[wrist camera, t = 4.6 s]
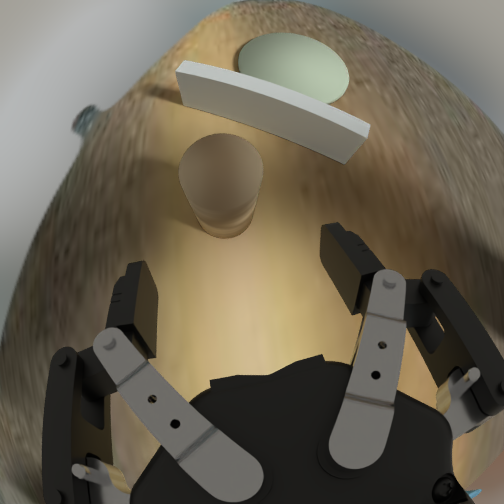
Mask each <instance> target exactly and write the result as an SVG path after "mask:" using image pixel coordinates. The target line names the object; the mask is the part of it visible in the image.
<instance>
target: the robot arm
mask: <svg viewBox="0 0 504 504" xmlns="http://www.w3.org/2000/svg"><path fill="white" fill-rule="evenodd" d="M320 259H321V262H322V264H323V266H324V268H325V270H326V271H327V273H328V275H329V276H330V278H331V280H332V281H333V283H334V285H335V287H336V288H337V290H338V292H339V293H340V295H341V297H342V299H343V300H344V302H345V304H346V306H347V307H348V309H349V311H350V313H351V315H355V314H358V313H361V314H362V316H363V318H362V321H361V325H360V329H359V333H358V337H357V341H356V344H355V348H354V351H353V355H352V358H351V361H350V364H345V363H342V362H335V361H325V360H324V357H323V355H322V354H321V355H317V356H314V357H310V358H307V359H303V360H299V361H296V362H294V363H292V364H290V365H288V366H286V367H284V368H282V369H280V370H278V371H276V372H274V373H272V374H270V375H235V376H230V377H224V378H219V379H213V380H210V387H211V388H209V389H207V390H205V391H203V392H201V393H200V394H198V395H197V396H196V397H194V398H193V399H192V400H191V401H190V402H189V403H188V402H187V401H186V400H185V399H184V398H183V397H182V396H181V395H180V394H179V393H178V392H177V391H176V390H175V389H174V388H173V387H172V386H171V385H170V384H169V383H168V382H167V381H166V380H165V379H164V378H163V377H162V376H161V375H160V374H159V373H158V371H157V370H156V369H155V368H154V367H153V366H152V365H151V364H150V363H149V362H148V359H151V358H156V341H157V313H158V291H157V287H156V285H155V282H154V280H153V278H152V275H151V273H150V271H149V268H148V266H147V264H146V262H145V261H144V260H143V261H139V262H134V263H129V264H128V266H127V270H126V275H125V276H122V277H120V278H119V279H118V281H117V282H116V284H115V285H114V289H113V293H112V295H113V296H112V298H111V304H110V307H109V312H108V317H107V322H106V328H105V330H103V331H101V332H100V333H99V334H98V335H97V336H96V338H95V340H94V343H93V346H92V347H89V348H87V349H85V350H83V351H80V352H78V353H77V352H76V351H75V350H74V349H73V348H71V347H63V348H61V349H59V350H58V351H57V352H56V353H55V354H54V356H53V358H52V360H51V364H50V370H49V376H48V383H47V390H46V398H45V407H44V418H43V433H42V480H43V495H44V499H45V502H46V504H475V503H474V502H473V500H472V499H471V498H470V496H469V495H468V494H467V493H466V491H465V490H464V489H463V488H462V487H461V485H460V484H459V482H458V481H457V479H456V478H455V476H454V472H453V466H452V445H453V440H454V439H456V438H458V437H459V436H461V435H462V434H464V433H469V432H471V431H473V430H474V429H476V428H477V427H479V426H480V425H482V424H483V423H485V422H486V421H488V420H489V419H491V418H492V417H494V416H495V415H496V414H498V413H499V412H501V411H502V410H503V409H504V359H503V358H502V356H501V354H500V352H499V351H498V349H497V347H496V346H495V344H494V342H493V341H492V339H491V338H490V336H489V334H488V333H487V331H486V330H485V328H484V327H483V325H482V324H481V322H480V321H479V319H478V318H477V316H476V315H475V313H474V312H473V311H472V309H471V308H470V306H469V305H468V304H467V302H466V301H465V299H464V298H463V297H462V295H461V294H460V293H459V291H458V290H457V289H456V287H455V286H454V285H453V283H452V282H451V281H450V280H449V278H448V277H447V276H446V275H445V274H444V273H442V272H440V271H438V270H433V269H430V270H426V271H425V272H424V273H423V275H422V277H421V279H404V277H403V276H402V275H401V274H399V273H398V272H396V271H393V270H389V269H385V267H384V266H383V265H382V263H381V262H380V261H379V260H378V258H377V257H376V256H375V255H374V254H373V252H372V251H371V250H370V249H369V247H368V246H367V245H365V243H364V241H363V240H362V239H361V238H360V237H359V236H358V235H356V234H355V233H353V232H351V231H345V229H344V228H343V227H342V226H341V225H340V223H338V222H336V223H330V224H325V225H322V227H321V238H320ZM435 316H436V317H437V318H438V320H439V321H440V323H441V325H442V326H443V328H444V331H443V330H442V328H441V327H440V325H439V323H438V322H437V320H436V319H435ZM406 328H407V329H408V331H409V333H410V335H411V337H412V338H413V340H414V342H415V344H416V346H417V348H418V349H419V351H420V353H421V355H422V357H423V359H424V361H425V363H426V365H427V367H428V369H429V371H430V373H431V375H432V377H433V379H434V381H435V383H436V385H437V387H438V390H437V393H436V408H437V410H436V409H434V408H432V407H430V406H428V405H426V404H424V403H422V402H420V401H418V400H416V399H414V398H412V397H410V396H408V395H406V394H404V393H402V392H400V391H399V390H397V385H398V380H399V374H400V369H401V362H402V356H403V349H404V342H405V334H406ZM444 332H445V333H444ZM117 391H118V392H119V393H120V395H121V396H122V397H123V399H124V400H125V401H126V403H127V404H128V405H129V407H130V408H131V409H132V410H133V412H134V413H135V414H136V415H137V417H138V418H139V419H140V420H141V422H142V423H143V424H144V425H145V426H146V428H147V429H148V430H149V431H150V432H151V433H152V435H153V436H154V437H155V438H156V439H157V440H158V441H159V442H160V444H161V446H160V447H159V449H158V450H157V452H156V453H155V455H154V456H153V458H152V459H151V461H150V462H149V464H148V465H147V467H146V468H145V470H144V471H143V473H142V474H141V476H140V477H139V479H138V480H137V481H136V483H135V484H134V486H133V488H132V490H130V489H129V488H128V486H127V484H126V482H125V478H124V476H123V474H122V472H121V471H120V470H119V469H118V468H117V467H115V466H113V455H112V441H111V416H110V394H112V393H115V392H117Z"/></svg>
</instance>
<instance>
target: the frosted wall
mask: <svg viewBox="0 0 504 504" xmlns="http://www.w3.org/2000/svg"><path fill="white" fill-rule="evenodd" d="M175 72H176V77H177V81H178V85H179V89H180V94H181V98H182V102H183V105H184V106H187V107H191V108H195V109H198V110H202V111H205V112H209V113H212V114H215V115H219V116H222V117H225V118H228V119H231V120H234V121H237V122H240V123H243V124H246V125H249V126H252V127H255V128H258V129H260V130H263V131H266V132H269V133H271V134H274V135H276V136H279V137H282V138H284V139H287V140H289V141H292V142H294V143H297V144H299V145H301V146H304V147H306V148H309V149H311V150H313V151H316V152H318V153H320V154H322V155H325V156H327V157H329V158H331V159H333V160H336V161H338V162H340V163H342V164H344V165H345V164H346V163H347V161H348V160H349V159H350V158H351V157H352V156H353V155H354V153H355V152H356V151H357V150H358V149H359V148H360V146H361V145H362V144H363V143H364V142H365V141H366V139H367V138H368V133H369V129H370V124H368V123H366V122H364V121H362V120H360V119H358V118H356V117H354V116H352V115H350V114H348V113H346V112H344V111H341V110H339V109H337V108H335V107H333V106H330V105H328V104H326V103H323V102H321V101H319V100H316V99H314V98H311V97H309V96H306V95H304V94H301V93H299V92H296V91H293V90H291V89H288V88H285V87H282V86H280V85H277V84H274V83H271V82H268V81H265V80H261V79H258V78H255V77H252V76H248V75H245V74H241V73H238V72H234V71H230V70H227V69H223V68H219V67H214V66H210V65H206V64H201V63H196V62H191V61H186V60H184V61H183V62H182V63H181V65H180V66H179V67H178V68H177V70H176V71H175Z"/></svg>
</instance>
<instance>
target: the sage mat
mask: <svg viewBox="0 0 504 504" xmlns="http://www.w3.org/2000/svg"><path fill="white" fill-rule="evenodd" d="M238 67H239V71H240V73H241V74H245V75H248V76H252V77H255V78H258V79H261V80H265V81H268V82H271V83H274V84H277V85H280V86H282V87H285V88H288V89H291V90H293V91H296V92H299V93H301V94H304V95H306V96H309V97H311V98H314V99H316V100H319V101H321V102H323V103H326V104H331V103H333V102H335V101H337V100H338V99H339V98H340V97H341V96H342V95H343V94H344V92H345V90H346V89H347V87H348V83H349V74H348V70H347V68H346V66H345V64H344V62H343V61H342V59H341V58H340V57H339V56H338V55H337V54H336V53H335V52H334V51H333V50H331V49H330V48H329V47H327V46H326V45H324V44H322V43H321V42H319V41H316V40H314V39H312V38H309V37H306V36H302V35H298V34H292V33H271V34H266V35H262V36H259V37H257V38H254V39H252V40H251V41H249V42H248V43H247V44H246V45H245V46H244V47H243V48H242V50H241V52H240V54H239V60H238Z"/></svg>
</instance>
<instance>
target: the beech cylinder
mask: <svg viewBox="0 0 504 504" xmlns="http://www.w3.org/2000/svg"><path fill="white" fill-rule="evenodd" d="M262 178H263V162H262V159H261V157H260V155H259V153H258V151H257V150H256V148H255V147H254V146H253V145H252V144H251V143H249V142H248V141H247V140H245V139H243V138H241V137H239V136H236V135H232V134H213V135H209V136H206V137H203V138H201V139H199V140H198V141H196V142H195V143H194V144H192V145H191V146H190V147H189V148H188V149H187V151H186V152H185V153H184V155H183V157H182V159H181V162H180V165H179V181H180V184H181V187H182V189H183V191H184V193H185V195H186V197H187V199H188V201H189V203H190V205H191V207H192V209H193V211H194V213H195V215H196V217H197V219H198V221H199V223H200V225H201V227H202V228H203V229H204V230H205V231H206V232H207V233H208V234H210V235H212V236H214V237H217V238H223V239H225V238H232V237H235V236H238V235H239V234H241V233H242V232H244V231H245V230H246V229H247V228H248V226H249V225H250V223H251V221H252V217H253V213H254V209H255V206H256V202H257V198H258V194H259V190H260V186H261V182H262Z"/></svg>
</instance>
